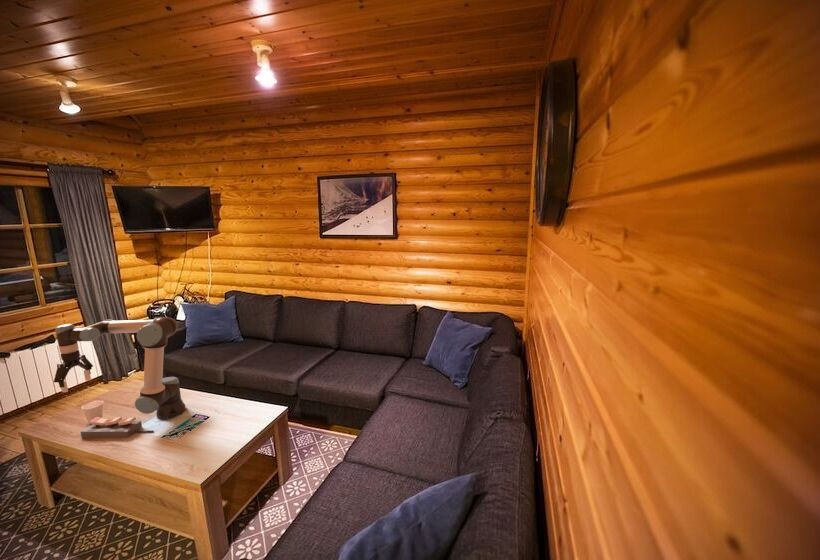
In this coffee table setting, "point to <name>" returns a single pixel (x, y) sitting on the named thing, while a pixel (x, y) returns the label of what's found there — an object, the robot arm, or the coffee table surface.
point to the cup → (93, 410)
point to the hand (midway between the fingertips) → (77, 386)
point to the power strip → (112, 430)
